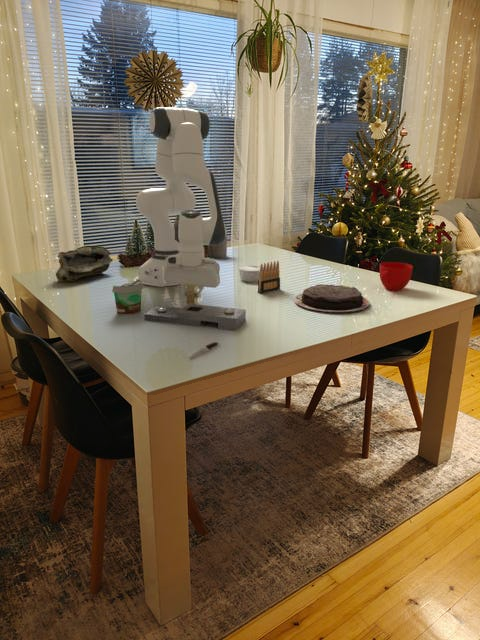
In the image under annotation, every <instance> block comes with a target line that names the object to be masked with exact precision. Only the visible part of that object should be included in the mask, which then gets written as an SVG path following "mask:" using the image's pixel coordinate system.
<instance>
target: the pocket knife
mask: <svg viewBox="0 0 480 640" xmlns="http://www.w3.org/2000/svg"><path fill="white" fill-rule="evenodd" d="M219 345H220V342H217V341H216V342H211V343H209V344H207V345H205V346H203V347H201V348H200V349H198V351H196V352H195V353H192V354H191V355H190V356H189V357H188V359H189V360H191V359H194V358H196V357H198V356H200V355H202V354H205V353H207V352H208V351H211V350H213V349H215V348H216V347H219Z"/></svg>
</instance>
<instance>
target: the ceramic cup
mask: <svg viewBox="0 0 480 640" xmlns="http://www.w3.org/2000/svg"><path fill="white" fill-rule="evenodd" d="M413 269H414V266H413V265H412V264H410V263H406V262H398V261H387V262H384V261H383V262H381V263H379V280H380V282H381V284H382V286H383V287H384V289H385V290H387V291H389V292H390V291H392V292H400V291H402V290H403V289H404V288H406V287H407V286H408V284H409V282H410V281H411V278H412V274H413Z"/></svg>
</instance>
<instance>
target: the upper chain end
mask: <svg viewBox="0 0 480 640" xmlns="http://www.w3.org/2000/svg"><path fill="white" fill-rule="evenodd" d="M181 308H182V309H181V310H180V311H178V312H177V318H182V319H191V320H200V321H207V322H211V323H217V324H218V325H217V327H218V330H219V329H220V330H228V331H236V332H237V331H238V330H239V329H240V327H241V326H242V325H244V324H245V322H247V321H246V317H247V316H246V315H247V313H246V312H247V311H246V309H244V308H233V307H225V306H215V305H206V304H199V303H198V304H188V305H187V304H186V306H184V307H181Z"/></svg>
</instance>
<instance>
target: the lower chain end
mask: <svg viewBox="0 0 480 640" xmlns="http://www.w3.org/2000/svg"><path fill="white" fill-rule="evenodd" d="M182 308H183V307H175V306H174V307H173V306H165V305H164V306H163V305H156V306H155V307H154V308H152V309H150V310H148V311H147V312H146V313H144V314H143V315H144V318H143V319H144V321H151V322H158V323H168V324H175V325H176V324H177V325H185V326H193V327H202V326H203V325H204V324H205V323H206V322H208V321H200V320H191V319H182V318H177V312H178V311H180V310H181V309H182Z"/></svg>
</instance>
